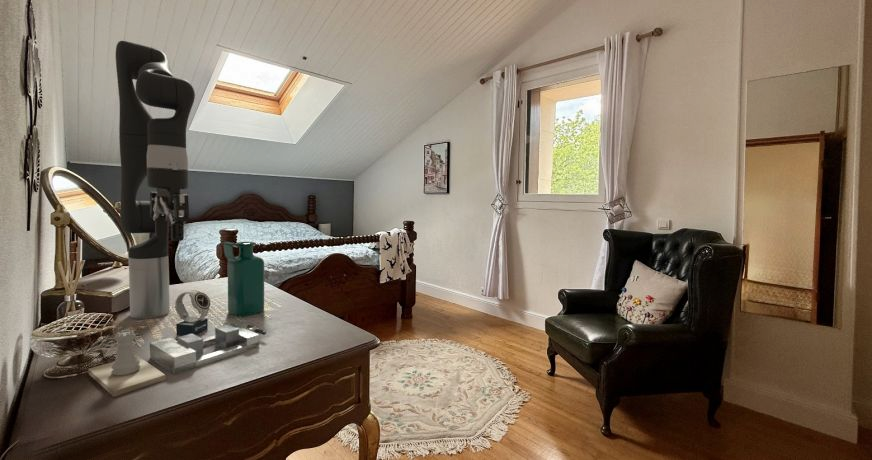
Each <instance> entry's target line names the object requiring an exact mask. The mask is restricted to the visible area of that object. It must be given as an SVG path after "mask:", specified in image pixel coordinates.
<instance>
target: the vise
mask: <svg viewBox="0 0 872 460" xmlns="http://www.w3.org/2000/svg"><path fill="white" fill-rule="evenodd" d="M214 334H215V335H214ZM214 334H213V335H211V336H207V337H200V336H199V335H194V334H188V335H185V336H177V340H176V339H175V338H174V337H167V338H163V339H160V340H156V341H152V342H149V359H151V360H152V361H154V362H155V363H157V364H158V365H160V366H162V368H164V369H166V370H168V371H169V372H171V373H172V374H173V375H177V374H180V373H183V372H187V371H189V370H192V369H195V368H198V367H202V366H205V365H207V364H208V365H209V364H210V363H213V362H217V361H219V360H223V359H226V358H229V357H231V356H235V355H238V354H241V353H243V352H246V351H250V350H253V349H256V348H260V335H262V336H264V335H266V334H267V332H266V330H264V329H261V328H258V327H257V326H254V325H251V324H247V325H246V328H244V327H242V326H239V325H237V324H235V323H230V324H228V323H227V324H224V325H221V326H220V325H219V326H216V327H214ZM213 344H215V345H214V346H215V347H217V348H219V349H220V350H216V351H213V352H210V353H207V354H204V347H207V346H209V345H213Z"/></svg>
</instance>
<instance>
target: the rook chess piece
mask: <svg viewBox="0 0 872 460" xmlns="http://www.w3.org/2000/svg"><path fill="white" fill-rule="evenodd" d="M136 336H137V335H136V334H135V333H134V330H133V329H131V330H130V329H126V330H125V331H124V330H120V331H117V332H116V335H115V337H114V338H113V339H114V340H115V341H116V343H117V344H115V347H117V353H116V358H115V360H114V362H115V363H114V364H113V365H112V369H113V370H112V372H111V373H112V374H114V375H115V376H124V375H129V374H132V373H134V372H136V371H137V370H138V369H139V368H140V365H139V363H140V361H139V359H137V356H138V355H136V354H135V349H134V345H135V341H134V339H135V337H136Z"/></svg>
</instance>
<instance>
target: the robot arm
mask: <svg viewBox="0 0 872 460" xmlns="http://www.w3.org/2000/svg"><path fill="white" fill-rule="evenodd" d="M169 63H170V62H169V59H168V57H167V55H166V54H165V53H164V52H163V51H162V50H160V49H158V48H155V47H151V46H148V45H144V44H143V45H142V44H139V43H135V42H131V41H127V40H120V41H118V42H117V44H116V47H115V65H116V66H115V68H116V78H117V88H118V98H119V99H118V100H119V101H118V102H119V121H118V122H119V124H118V125H119V127H118V128H119V131H118V133H119V135H118V137H119V155H120V157H119V159H120V172H121V173H120V174H121V175H120V176H121V178H120V179H121V185H120V202H119V203H120V206H119V222H120V227H121V230H122V231H123V232H124V233H126V234H153V235H152V236H151V238H149V239H147V240H146V241H143V242H141V243H137V244H134V245H132V246H130V247H129V248H128V251H127V254H128V255H127V257H128V260H127V261H128V277H129V278H128V285H129V286H128V287H129V289H128V290H129V316H130V318H132V319H135V320H136V319H137V320H145V319H153V318H159V317H162V316H165V315H168V314H169V313H170V309H171V308H170V307H171V306H170V304H171V303H170V271H169V270H170V267H169V266H170V265H169V227H170V235H171V236H170V239H171V241H173V242H178V241H179V242H181V241H182V242H183V240H184V239H185V236H184V234H185V232H184V231H185V230H184V224H186V222H189V221H190V209H189V208H190V206H189V195H188V194H184V193H183V194H182V193H181V190H187V189H188V188H189V169H188V168H189V166H188V164H189V162H188V161H189V160H188V153H187V126H188V122H189V121H188V120H189V117H190V114H191V111H192V108H193V105H194V102H195V99H196V98H195V97H196V93H195V89H194V87H193V85H192V84H191V82H189V81H188V80H186V79H184V78H180V77H175V76H174V74H173V73H172V71H171V67H170V64H169ZM133 80H135V84H134V81H133ZM144 104H145V105H146V106H149V107H153V108H159V109H160V108H161V109H166V110H167V109H168V110H173V111H175V112H174V114H173V116H171V117H160V118H159V117H157V118H153V116H152V115H151V113H150V112H149V111H148V109H147V108H146V107H145V105H144ZM145 178H146V180H147V181H146V182H147V187H148V188H152V189H156V191H150V193H149V200H136V199H137V195H138V191H139V189H140V187H141V184H142V183H143V182H144V180H145ZM169 223H171V224H169Z"/></svg>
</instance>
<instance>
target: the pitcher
mask: <svg viewBox="0 0 872 460" xmlns="http://www.w3.org/2000/svg"><path fill="white" fill-rule="evenodd" d="M222 245H223V253H224V256H225V258H226V260H227V311H228V313H229V314H231V315H234V316H236V317H238V318H243V317H248V316H253V315H258V314H261V313H263V312H264V311H265V261H264V259H263V258H262V257H259V256H256V255H254V248H253V246H256V245H257V243H256V242H254V241H239V242H236V243H234V242H229V241H224V242H223V244H222ZM234 248H239V249H238V250H239V254H238V256H235V255H234V254H235V253H234Z"/></svg>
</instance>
